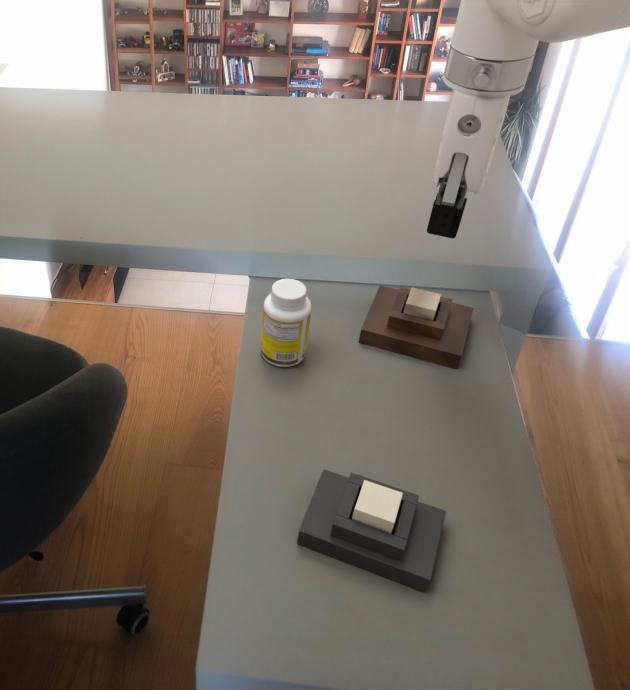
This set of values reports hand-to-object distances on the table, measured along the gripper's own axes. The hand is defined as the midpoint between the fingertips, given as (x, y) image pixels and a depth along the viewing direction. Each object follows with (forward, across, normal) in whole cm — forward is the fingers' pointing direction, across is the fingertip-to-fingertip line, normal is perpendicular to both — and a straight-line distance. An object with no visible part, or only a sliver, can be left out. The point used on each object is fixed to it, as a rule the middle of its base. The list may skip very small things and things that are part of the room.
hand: (442, 230), depth 79 cm
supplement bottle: (+15, -11, +14) cm, 23 cm away
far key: (+12, 0, 0) cm, 12 cm away
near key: (+12, -32, -2) cm, 34 cm away
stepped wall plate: (+15, -32, -2) cm, 35 cm away
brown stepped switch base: (+15, 0, 0) cm, 15 cm away
